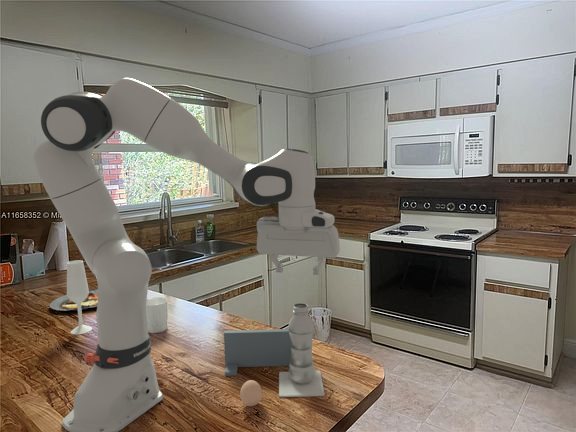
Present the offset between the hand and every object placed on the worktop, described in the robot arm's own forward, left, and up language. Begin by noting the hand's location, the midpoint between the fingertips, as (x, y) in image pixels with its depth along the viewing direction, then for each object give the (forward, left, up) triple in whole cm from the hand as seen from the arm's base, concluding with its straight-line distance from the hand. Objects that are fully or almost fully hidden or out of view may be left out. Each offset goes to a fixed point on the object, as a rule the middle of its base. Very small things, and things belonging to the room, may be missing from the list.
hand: (297, 273), depth 99 cm
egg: (-11, +9, -29) cm, 33 cm away
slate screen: (+5, +11, -29) cm, 31 cm away
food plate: (+37, +100, -30) cm, 110 cm away
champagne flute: (+14, +81, -29) cm, 87 cm away
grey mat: (0, 0, -29) cm, 29 cm away
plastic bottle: (+1, 0, -29) cm, 29 cm away
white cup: (+21, +56, -29) cm, 66 cm away
